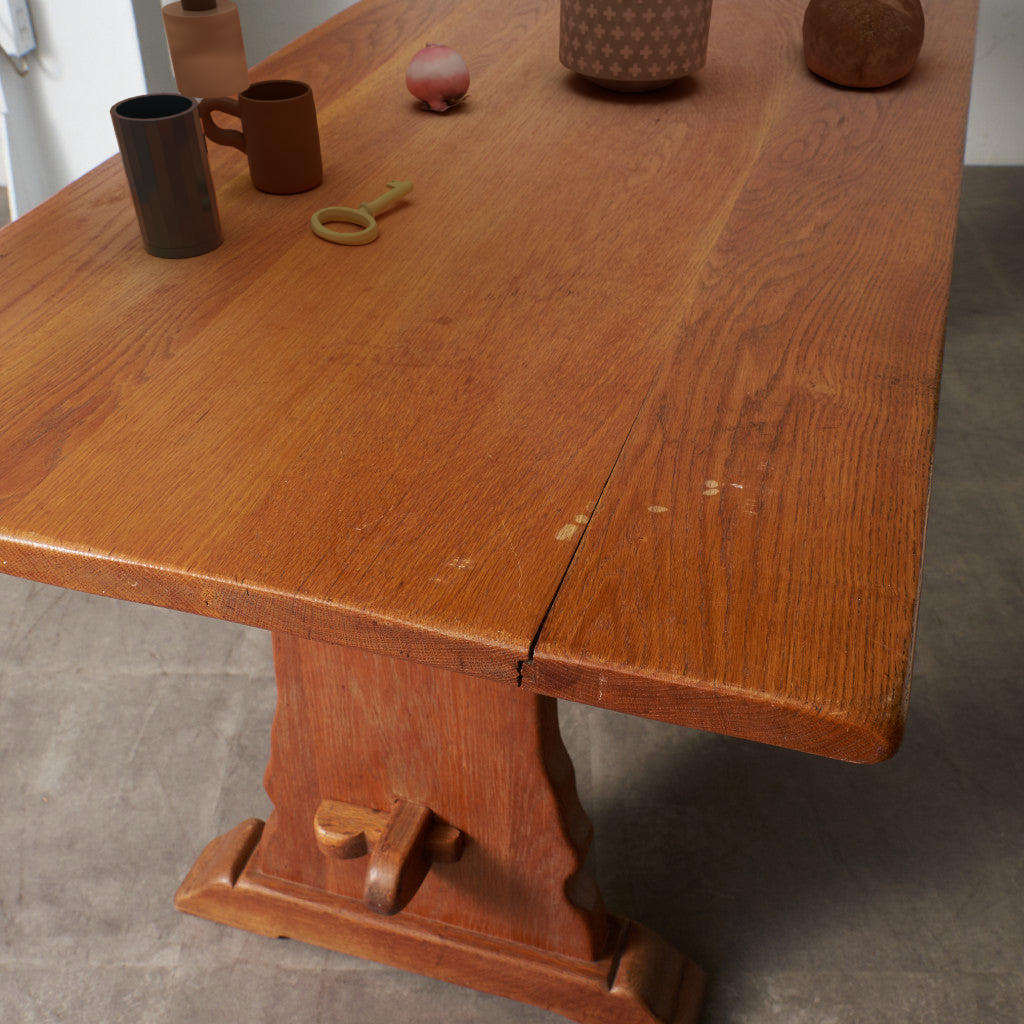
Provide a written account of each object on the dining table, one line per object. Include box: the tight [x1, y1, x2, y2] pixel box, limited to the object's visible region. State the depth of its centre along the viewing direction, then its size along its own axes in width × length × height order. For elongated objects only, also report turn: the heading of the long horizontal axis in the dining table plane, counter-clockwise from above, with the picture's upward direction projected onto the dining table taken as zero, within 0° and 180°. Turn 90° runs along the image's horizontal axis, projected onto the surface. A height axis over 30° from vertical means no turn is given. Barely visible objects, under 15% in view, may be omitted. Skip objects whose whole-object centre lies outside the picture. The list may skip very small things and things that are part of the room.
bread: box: [801, 0, 926, 89], centre depth 137 cm, size 16×29×11 cm, turn 167°
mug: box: [198, 79, 324, 195], centre depth 104 cm, size 12×8×9 cm, turn 97°
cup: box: [109, 92, 225, 259], centre depth 92 cm, size 7×7×12 cm
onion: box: [405, 42, 471, 112], centre depth 124 cm, size 8×8×7 cm
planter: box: [558, 0, 714, 93], centre depth 127 cm, size 19×19×18 cm
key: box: [310, 179, 415, 246], centre depth 99 cm, size 7×12×2 cm, turn 161°
